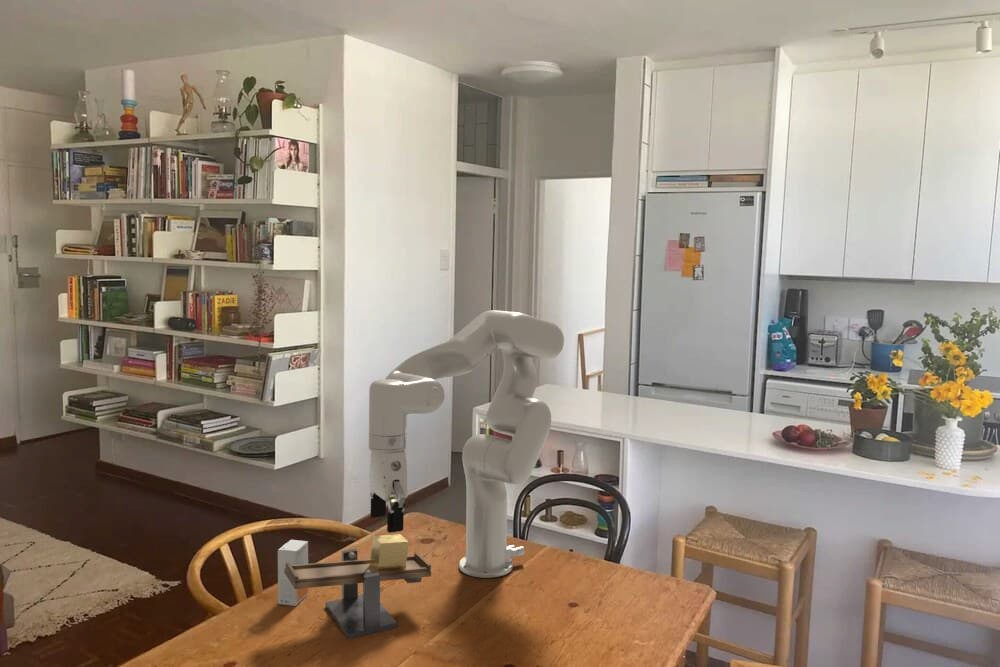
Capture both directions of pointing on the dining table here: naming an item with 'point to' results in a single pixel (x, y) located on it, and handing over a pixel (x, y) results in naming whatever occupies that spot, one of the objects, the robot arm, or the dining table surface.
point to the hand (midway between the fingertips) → (386, 523)
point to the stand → (360, 607)
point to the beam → (352, 572)
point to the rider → (389, 552)
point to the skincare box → (287, 593)
